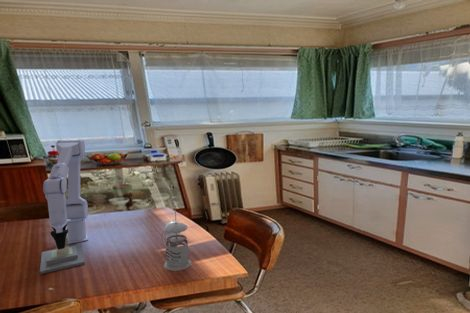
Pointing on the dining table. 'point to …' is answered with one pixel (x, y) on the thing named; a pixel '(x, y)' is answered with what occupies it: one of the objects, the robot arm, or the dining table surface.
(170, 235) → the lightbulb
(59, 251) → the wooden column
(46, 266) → the stepped stand
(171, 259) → the french press
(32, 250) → the dining table surface
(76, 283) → the dining table surface
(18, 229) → the dining table surface
